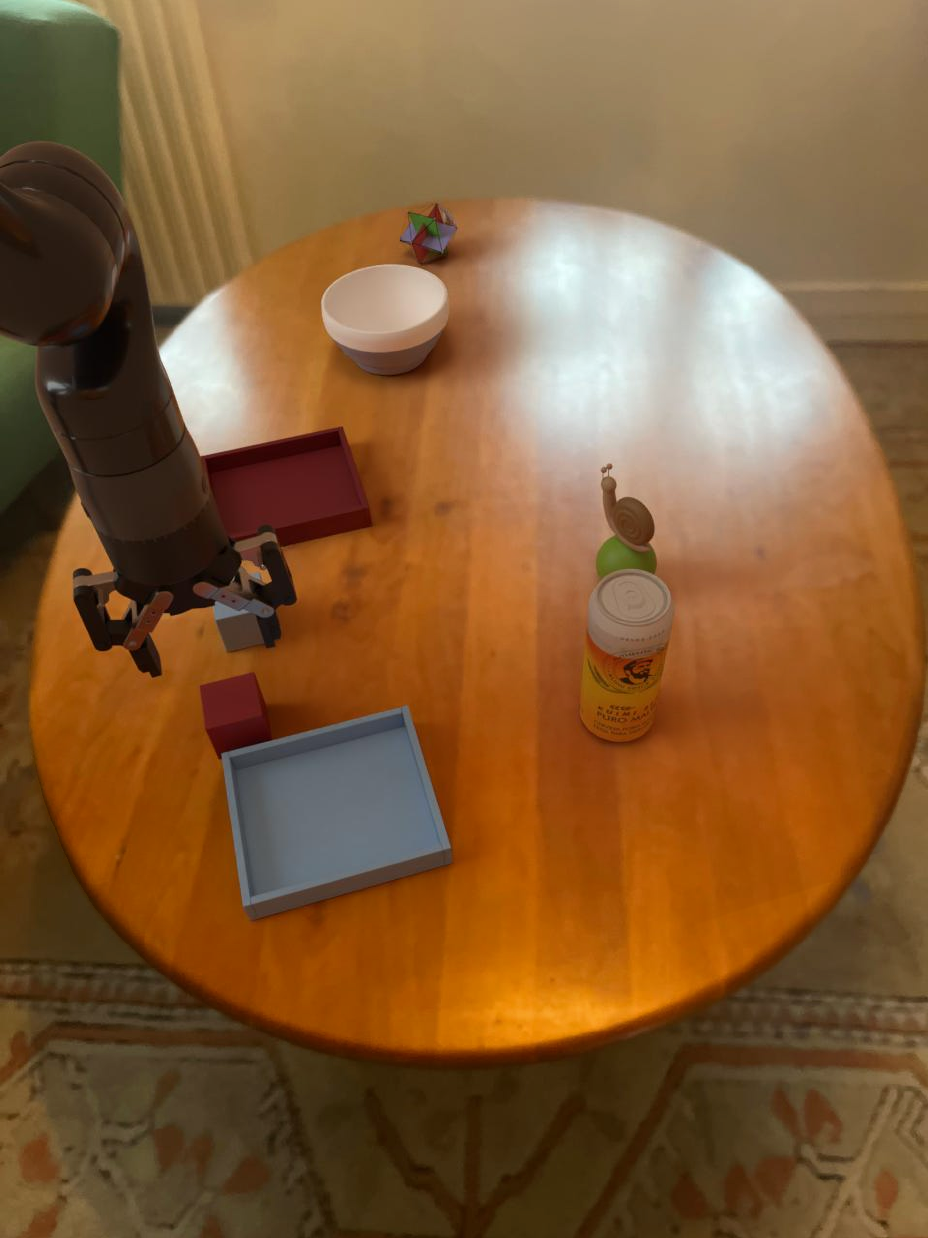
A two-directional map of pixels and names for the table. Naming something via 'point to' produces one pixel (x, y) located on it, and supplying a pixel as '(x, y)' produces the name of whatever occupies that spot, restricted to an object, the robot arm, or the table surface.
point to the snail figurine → (625, 533)
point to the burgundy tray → (289, 487)
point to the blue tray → (332, 812)
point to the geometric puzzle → (429, 232)
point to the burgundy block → (235, 713)
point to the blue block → (237, 626)
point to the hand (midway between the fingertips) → (213, 653)
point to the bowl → (386, 316)
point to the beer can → (625, 653)
